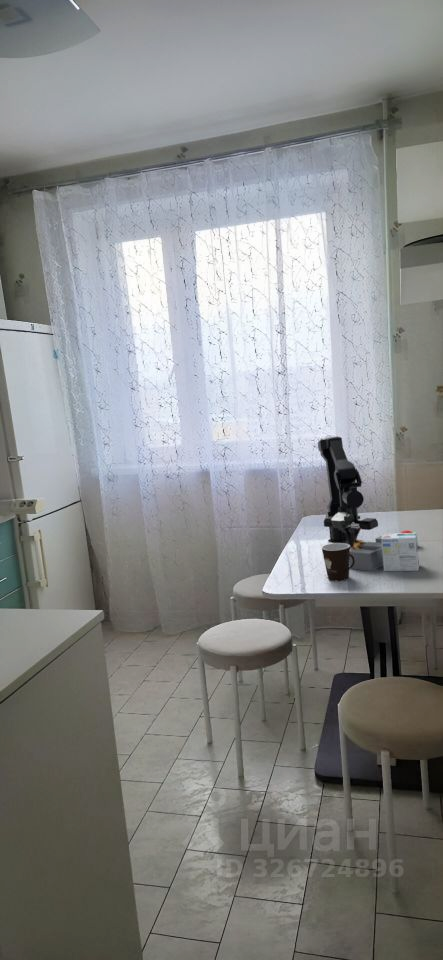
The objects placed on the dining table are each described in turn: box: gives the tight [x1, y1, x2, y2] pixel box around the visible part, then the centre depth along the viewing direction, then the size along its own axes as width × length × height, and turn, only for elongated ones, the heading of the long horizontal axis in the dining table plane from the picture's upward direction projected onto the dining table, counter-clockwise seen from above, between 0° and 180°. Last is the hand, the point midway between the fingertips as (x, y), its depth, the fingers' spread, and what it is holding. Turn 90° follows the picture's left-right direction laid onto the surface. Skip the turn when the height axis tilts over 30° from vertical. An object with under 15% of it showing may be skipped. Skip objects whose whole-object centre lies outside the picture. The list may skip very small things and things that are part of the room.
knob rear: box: [352, 539, 369, 549], centre depth 218 cm, size 9×4×4 cm, turn 47°
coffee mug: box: [321, 542, 355, 582], centre depth 196 cm, size 12×9×10 cm
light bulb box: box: [381, 532, 420, 572], centre depth 200 cm, size 11×7×11 cm, turn 71°
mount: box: [349, 535, 383, 572], centre depth 211 cm, size 8×21×6 cm, turn 137°
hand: (352, 546), depth 222 cm, fingers closed
